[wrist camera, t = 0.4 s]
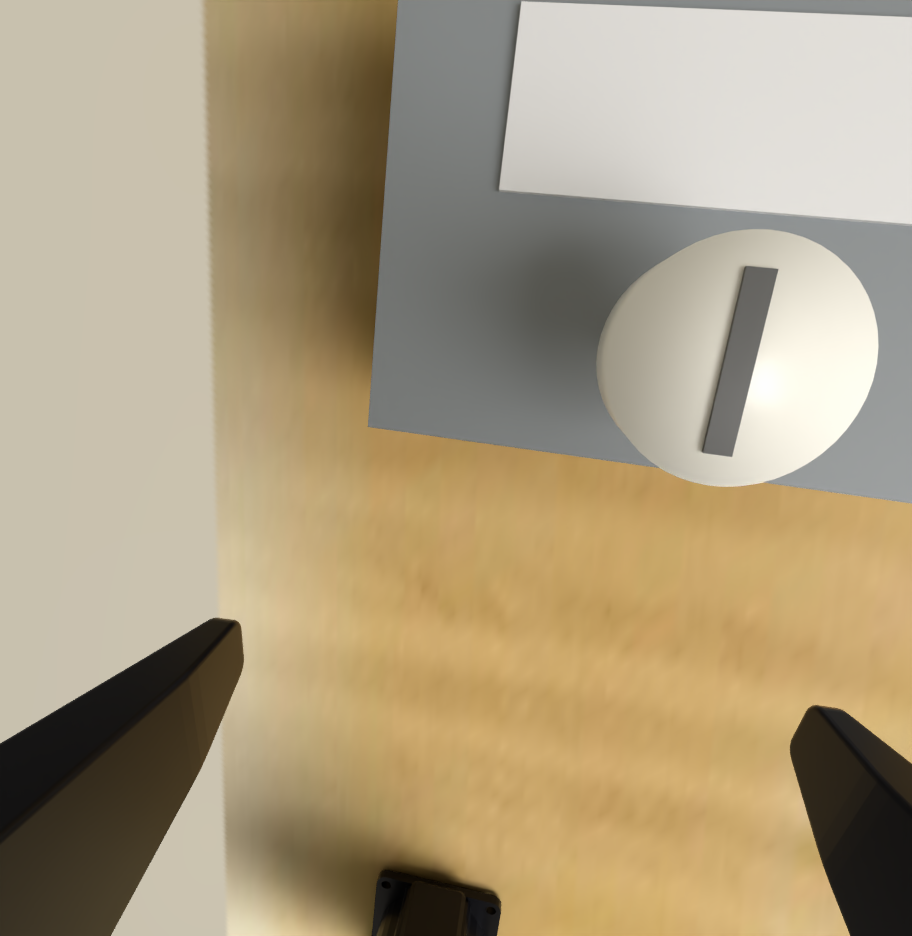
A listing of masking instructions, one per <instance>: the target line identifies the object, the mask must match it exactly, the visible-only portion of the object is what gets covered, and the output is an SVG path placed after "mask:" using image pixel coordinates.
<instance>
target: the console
mask: <svg viewBox="0 0 912 936" xmlns="http://www.w3.org/2000/svg"><path fill="white" fill-rule="evenodd" d="M747 229H770V230H776V231H783V232H788V233H792V234H795V235H798V236H802V237H805V238H807V239H809V240H811V241H813V242H816V243H818V244H820V245H822V246H823V247H825V248H826V249H828V250H829V251H831V252H832V253H834V254H835V255H836V256H838V257H839V258H840V259H841V260H842V261H843V262H844V263H845V264H846V265H847V266H848V267H849V268H850V269H851V270H852V272H853V273H854V274H855V275H856V277H857V278H858V279H859V280H860V282H861V284H862V286H863V287H864V289H865V291H866V293H867V294H868V297H869V299H870V302H871V305H872V307H873V310H874V314H875V318H876V323H877V328H878V345H879V347H878V358H877V366H876V370H875V374H874V379H873V382H872V385H871V387H870V390H869V393H868V395H867V398H866V400H865V402H864V403H863V405H862V407H861V409H860V411H859V413H858V414H857V416H856V417H855V419H854V420H853V422H852V423H851V424H850V426H849V427H848V429H847V430H846V431H845V432H844V433H843V434H842V435H841V436H840V437H839V439H838V440H837V441H836V442H835V443H834V444H833V445H831V446H830V447H829V448H828V449H827V450H826V451H825V452H823V453H822V454H821V455H819V456H818V457H817V458H815V459H814V460H812V461H811V462H809V463H808V464H806V465H804V466H803V467H801V468H799V469H797V470H795V471H793V472H791V473H789V474H786V475H784V476H781V477H779V478H776V479H773V480H769V481H766V482H763V483H771V484H778V485H785V486H792V487H799V488H806V489H813V490H820V491H827V492H834V493H842V494H849V495H856V496H863V497H870V498H877V499H884V500H891V501H898V502H905V503H912V0H398V10H397V24H396V38H395V52H394V66H393V80H392V95H391V109H390V123H389V137H388V151H387V165H386V179H385V194H384V208H383V222H382V236H381V250H380V264H379V278H378V293H377V307H376V321H375V335H374V349H373V363H372V377H371V391H370V406H369V420H368V427H373V428H380V429H387V430H394V431H401V432H408V433H415V434H422V435H430V436H437V437H444V438H451V439H458V440H465V441H472V442H479V443H486V444H493V445H501V446H508V447H515V448H522V449H529V450H536V451H543V452H550V453H557V454H565V455H572V456H579V457H586V458H593V459H600V460H607V461H614V462H621V463H628V464H636V465H643V466H650V467H657V468H659V467H658V466H656V465H655V464H653V463H652V462H650V461H649V460H648V459H647V458H646V457H645V456H644V455H642V454H641V453H640V452H639V451H638V450H637V449H636V447H635V446H634V445H633V444H632V443H631V442H630V440H629V439H628V438H627V437H626V436H625V434H624V433H623V432H622V431H621V429H620V428H619V427H618V426H617V425H616V423H615V422H614V420H613V419H612V417H611V416H610V414H609V413H608V411H607V409H606V406H605V404H604V402H603V400H602V397H601V393H600V390H599V386H598V380H597V367H596V360H597V351H598V345H599V341H600V336H601V333H602V330H603V328H604V325H605V322H606V320H607V318H608V316H609V314H610V312H611V310H612V309H613V307H614V306H615V304H616V303H617V301H618V300H619V298H620V297H621V295H622V294H623V293H624V292H625V291H626V290H627V289H628V288H629V287H630V285H631V284H632V283H634V282H635V281H636V280H637V279H638V278H639V277H640V276H642V275H643V274H644V273H645V272H647V271H648V270H650V269H651V268H653V267H654V266H656V265H657V264H659V263H661V262H662V261H664V260H666V259H667V258H669V257H670V256H672V255H674V254H675V253H677V252H679V251H680V250H682V249H684V248H686V247H688V246H690V245H692V244H694V243H696V242H698V241H701V240H703V239H706V238H709V237H711V236H714V235H718V234H723V233H727V232H731V231H738V230H747Z"/></svg>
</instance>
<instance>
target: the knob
mask: <svg viewBox="0 0 912 936" xmlns="http://www.w3.org/2000/svg"><path fill="white" fill-rule="evenodd" d="M878 347H879V345H878V328H877V323H876V318H875V314H874V310H873V307H872V305H871V302H870V299H869V297H868V294H867V293H866V291H865V289H864V287H863V286H862V284H861V282H860V280H859V279H858V278H857V277H856V275H855V274H854V273H853V272H852V270H851V269H850V268H849V267H848V266H847V265H846V264H845V263H844V262H843V261H842V260H841V259H840V258H839V257H838V256H836V255H835V254H834V253H832V252H831V251H829V250H828V249H826V248H825V247H823V246H822V245H820V244H818V243H816V242H813V241H811V240H809V239H807V238H805V237H802V236H798V235H795V234H792V233H788V232H783V231H776V230H770V229H747V230H738V231H731V232H727V233H723V234H718V235H714V236H711V237H709V238H706V239H703V240H701V241H698V242H696V243H694V244H692V245H690V246H688V247H686V248H684V249H682V250H680V251H679V252H677V253H675V254H674V255H672V256H670V257H669V258H667V259H666V260H664V261H662V262H661V263H659V264H657V265H656V266H654V267H653V268H651V269H650V270H648V271H647V272H645V273H644V274H643V275H642V276H640V277H639V278H638V279H637V280H636V281H635V282H634V283H632V284H631V285H630V287H629V288H628V289H627V290H626V291H625V292H624V293H623V294H622V295H621V297H620V298H619V300H618V301H617V303H616V304H615V306H614V307H613V309H612V310H611V312H610V314H609V316H608V318H607V320H606V322H605V325H604V328H603V330H602V333H601V336H600V341H599V345H598V351H597V360H596V367H597V380H598V386H599V390H600V393H601V397H602V400H603V402H604V404H605V406H606V409H607V411H608V413H609V414H610V416H611V417H612V419H613V420H614V422H615V423H616V425H617V426H618V427H619V428H620V429H621V431H622V432H623V433H624V434H625V436H626V437H627V438H628V439H629V440H630V442H631V443H632V444H633V445H634V446H635V447H636V449H637V450H638V451H639V452H640V453H641V454H642V455H644V456H645V457H646V458H647V459H648V460H649V461H650V462H652V463H653V464H655V465H656V466H658V467H659V468H661V469H662V470H664V471H666V472H668V473H670V474H672V475H674V476H676V477H679V478H682V479H685V480H688V481H691V482H694V483H699V484H704V485H709V486H722V487H732V486H746V485H752V484H759V483H762V482H766V481H769V480H773V479H776V478H779V477H781V476H784V475H786V474H789V473H791V472H793V471H795V470H797V469H799V468H801V467H803V466H804V465H806V464H808V463H809V462H811V461H812V460H814V459H815V458H817V457H818V456H819V455H821V454H822V453H823V452H825V451H826V450H827V449H828V448H829V447H830V446H831V445H833V444H834V443H835V442H836V441H837V440H838V439H839V437H840V436H841V435H842V434H843V433H844V432H845V431H846V430H847V429H848V427H849V426H850V424H851V423H852V422H853V420H854V419H855V417H856V416H857V414H858V413H859V411H860V409H861V407H862V405H863V403H864V402H865V400H866V398H867V395H868V393H869V390H870V387H871V385H872V382H873V379H874V374H875V370H876V366H877V358H878Z"/></svg>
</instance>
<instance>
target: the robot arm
mask: <svg viewBox="0 0 912 936" xmlns="http://www.w3.org/2000/svg"><path fill="white" fill-rule="evenodd" d="M243 663H244V654H243V643H242V631H241V625H240V623H239V622H238V621H236V620H230V619H223V618H213V619H210V620H208V621H206V622H205V623H203V624H201V625H200V626H198V627H197V628H195V629H193V630H191V631H189V632H188V633H186V634H185V635H183V636H181V637H179V638H178V639H176V640H174V641H173V642H171V643H169V644H168V645H166V646H164V647H162V648H161V649H159V650H157V651H156V652H154V653H152V654H151V655H149V656H147V657H146V658H144V659H142V660H140V661H139V662H137V663H136V664H134V665H132V666H130V667H129V668H127V669H125V670H124V671H122V672H120V673H119V674H117V675H115V676H114V677H112V678H110V679H108V680H107V681H105V682H104V683H102V684H100V685H98V686H97V687H95V688H93V689H92V690H90V691H88V692H86V693H85V694H83V695H81V696H80V697H78V698H76V699H75V700H73V701H71V702H70V703H68V704H66V705H65V706H63V707H61V708H59V709H58V710H56V711H54V712H53V713H51V714H50V715H48V716H46V717H44V718H43V719H41V720H39V721H38V722H36V723H34V724H32V725H31V726H29V727H27V728H26V729H24V730H22V731H21V732H19V733H17V734H16V735H14V736H12V737H11V738H9V739H7V740H6V741H4V742H2V743H0V936H111V934H112V932H113V931H114V929H115V927H116V925H117V923H118V921H119V919H120V918H121V916H122V914H123V912H124V910H125V908H126V907H127V905H128V903H129V901H130V899H131V897H132V895H133V894H134V892H135V890H136V888H137V886H138V884H139V882H140V881H141V879H142V877H143V875H144V873H145V872H146V870H147V868H148V866H149V864H150V862H151V860H152V859H153V857H154V855H155V853H156V851H157V849H158V848H159V846H160V844H161V842H162V840H163V838H164V836H165V834H166V833H167V831H168V829H169V827H170V825H171V823H172V822H173V820H174V818H175V816H176V814H177V812H178V811H179V809H180V807H181V805H182V803H183V801H184V800H185V798H186V796H187V794H188V792H189V790H190V788H191V787H192V785H193V783H194V781H195V779H196V777H197V775H198V773H199V771H200V769H201V767H202V765H203V762H204V761H205V758H206V756H207V754H208V752H209V749H210V747H211V744H212V742H213V740H214V737H215V735H216V732H217V730H218V728H219V725H220V723H221V721H222V718H223V716H224V713H225V711H226V709H227V706H228V704H229V701H230V699H231V697H232V694H233V692H234V690H235V687H236V685H237V682H238V680H239V678H240V675H241V672H242V669H243ZM790 755H791V759H792V763H793V766H794V770H795V773H796V777H797V780H798V783H799V787H800V790H801V794H802V797H803V800H804V804H805V807H806V811H807V814H808V818H809V821H810V824H811V828H812V831H813V835H814V838H815V841H816V845H817V848H818V851H819V854H820V857H821V860H822V864H823V866H824V869H825V872H826V874H827V877H828V880H829V883H830V885H831V888H832V890H833V893H834V895H835V898H836V901H837V903H838V906H839V908H840V911H841V913H842V916H843V918H844V921H845V923H846V926H847V928H848V931H849V934H850V936H912V764H911V763H910V762H909V761H907V760H906V759H905V758H904V757H902V756H901V755H900V754H899V753H897V752H896V751H895V750H893V749H892V748H891V747H890V746H888V745H887V744H886V743H885V742H883V741H882V740H881V739H879V738H878V737H877V736H876V735H874V734H873V733H872V732H871V731H869V730H868V729H867V728H865V727H864V726H863V725H862V724H860V723H859V722H858V721H857V720H855V719H854V718H853V717H851V716H850V715H849V714H848V713H846V712H845V711H843V710H841V709H838V708H832V707H826V706H819V705H814V706H811V707H810V708H808V709H807V711H806V713H805V715H804V717H803V718H802V720H801V722H800V724H799V726H798V728H797V730H796V732H795V734H794V736H793V738H792V740H791V744H790ZM500 914H501V901H500V900H499V899H498V898H497V897H496V896H493V895H489V894H485V893H481V892H477V891H473V890H468V889H464V888H460V887H456V886H452V885H448V884H444V883H440V882H435V881H431V880H427V879H423V878H419V877H415V876H411V875H407V874H402V873H398V872H394V871H390V870H384V871H382V872H380V874H379V877H378V881H377V887H376V897H375V908H374V918H373V929H372V936H497V932H498V926H499V920H500Z"/></svg>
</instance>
